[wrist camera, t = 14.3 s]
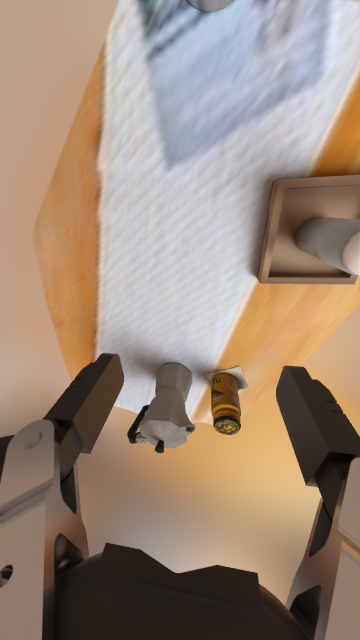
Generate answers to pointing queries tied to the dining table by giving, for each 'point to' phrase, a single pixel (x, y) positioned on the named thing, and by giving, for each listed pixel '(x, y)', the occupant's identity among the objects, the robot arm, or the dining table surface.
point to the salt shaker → (332, 241)
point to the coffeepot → (165, 410)
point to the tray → (290, 213)
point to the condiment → (226, 399)
